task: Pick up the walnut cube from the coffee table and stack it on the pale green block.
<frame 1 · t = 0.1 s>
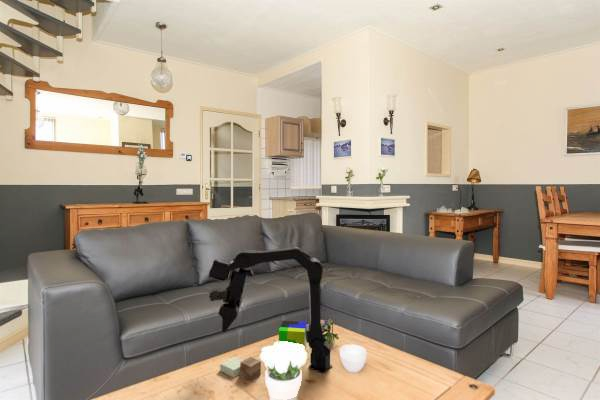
hand: (225, 326, 131), 15 cm above the table, tool pointing down, fingers open, 9 cm apart
passion flower: (325, 342, 155), on the table
walnut cube: (250, 375, 127), on the table
puzzle toy: (292, 351, 147), on the table
pale green block: (234, 369, 131), on the table
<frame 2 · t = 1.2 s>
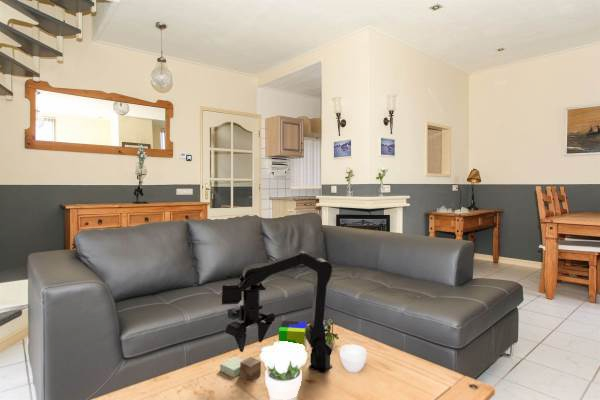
hand: (251, 346, 127), 10 cm above the table, tool pointing down, fingers open, 9 cm apart
nothing on the table moved.
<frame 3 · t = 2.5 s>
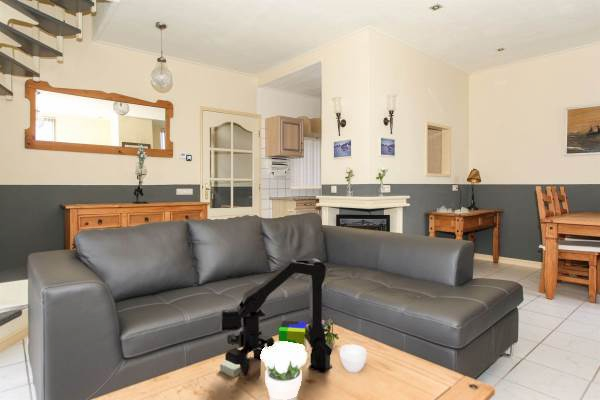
hand: (250, 372, 127), 1 cm above the table, tool pointing down, fingers closed on walnut cube, 5 cm apart
walnut cube: (250, 375, 127), on the table, touching gripper
everything else where it was.
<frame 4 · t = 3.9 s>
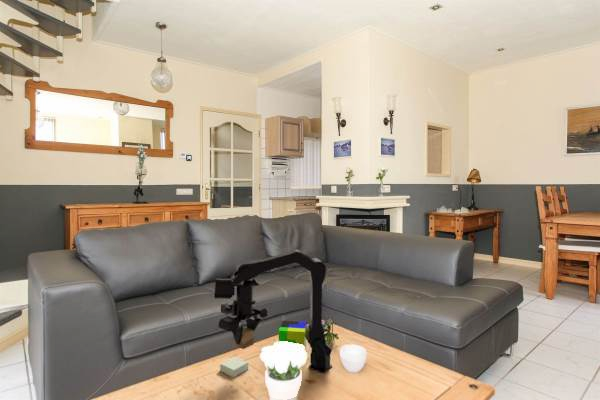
hand: (243, 341, 128), 11 cm above the table, tool pointing down, fingers closed on walnut cube, 5 cm apart
walnut cube: (243, 344, 128), point 10 cm above the table, touching gripper
everything else where it was.
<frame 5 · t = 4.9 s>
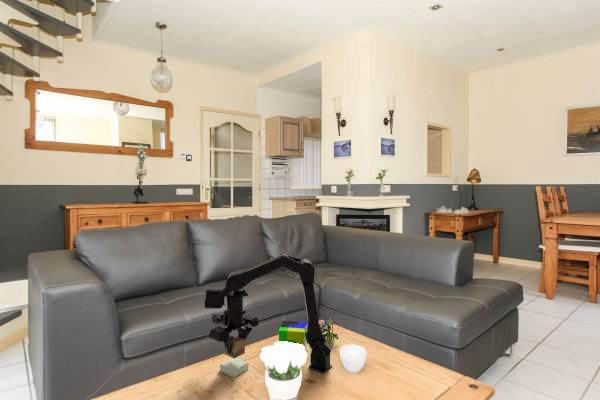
hand: (234, 350, 130), 7 cm above the table, tool pointing down, fingers closed on walnut cube, 5 cm apart
walnut cube: (234, 353, 130), point 6 cm above the table, touching gripper
everything else where it was.
when the fingers open (5 cm above the table, at t = 5.6 s): walnut cube drops 1 cm, resting on pale green block.
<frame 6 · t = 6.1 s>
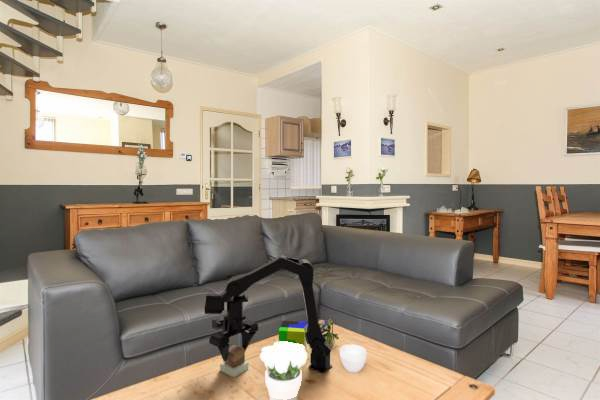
hand: (234, 356, 130), 5 cm above the table, tool pointing down, fingers open, 9 cm apart
walnut cube: (234, 362, 131), point 2 cm above the table, touching pale green block
everything else where it was.
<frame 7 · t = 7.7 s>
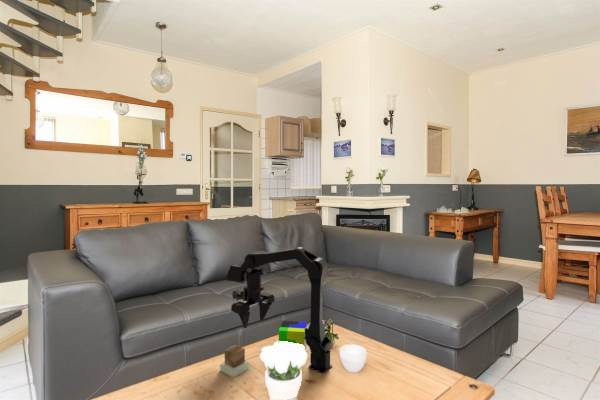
hand: (253, 324, 142), 12 cm above the table, tool pointing down, fingers open, 9 cm apart
nothing on the table moved.
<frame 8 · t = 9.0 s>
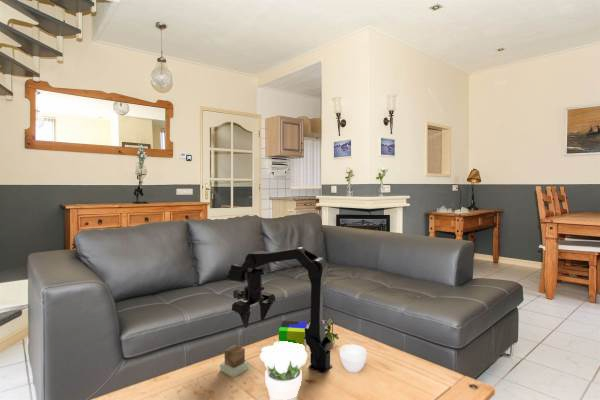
hand: (254, 323, 142), 12 cm above the table, tool pointing down, fingers open, 9 cm apart
nothing on the table moved.
at the end: walnut cube 0.1 cm off-centre on the pale green block, point 2.5 cm above the pale green block's base; walnut cube tilted 0°; the gripper is holding nothing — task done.
